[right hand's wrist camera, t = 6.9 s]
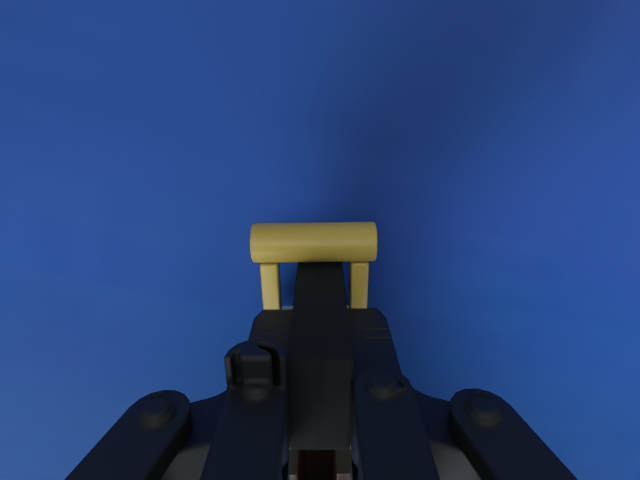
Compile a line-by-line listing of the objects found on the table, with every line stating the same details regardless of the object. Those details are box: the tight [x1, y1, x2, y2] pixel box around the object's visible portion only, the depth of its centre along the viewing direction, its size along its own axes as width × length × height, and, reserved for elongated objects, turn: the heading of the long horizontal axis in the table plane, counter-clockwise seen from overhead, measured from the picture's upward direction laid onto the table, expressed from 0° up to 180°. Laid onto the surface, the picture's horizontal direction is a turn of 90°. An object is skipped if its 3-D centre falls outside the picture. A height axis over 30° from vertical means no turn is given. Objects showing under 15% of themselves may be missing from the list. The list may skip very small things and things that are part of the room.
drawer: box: [250, 222, 377, 480], centre depth 17 cm, size 23×4×7 cm, turn 1°
